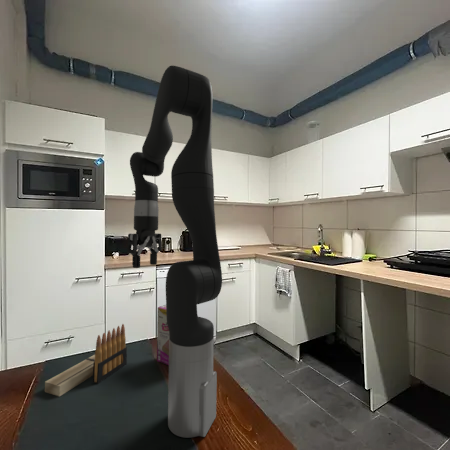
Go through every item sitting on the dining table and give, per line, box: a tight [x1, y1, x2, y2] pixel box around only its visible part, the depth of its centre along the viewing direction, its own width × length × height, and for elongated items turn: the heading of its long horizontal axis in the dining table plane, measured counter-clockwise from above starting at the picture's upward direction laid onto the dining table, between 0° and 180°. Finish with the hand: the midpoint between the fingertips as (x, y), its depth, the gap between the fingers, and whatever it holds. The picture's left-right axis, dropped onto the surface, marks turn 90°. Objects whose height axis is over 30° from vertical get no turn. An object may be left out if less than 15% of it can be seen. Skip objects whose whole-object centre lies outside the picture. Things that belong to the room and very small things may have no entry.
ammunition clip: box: [92, 323, 128, 384], centre depth 71 cm, size 11×2×12 cm, turn 160°
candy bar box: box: [156, 304, 169, 367], centre depth 77 cm, size 11×5×16 cm, turn 58°
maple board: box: [44, 354, 95, 397], centre depth 69 cm, size 5×16×2 cm, turn 160°
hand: (145, 266), depth 82 cm, fingers open, 8 cm apart
